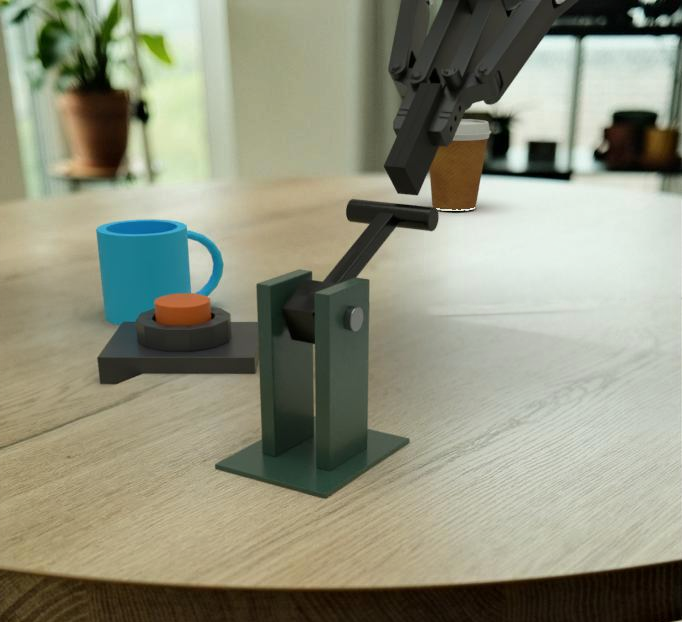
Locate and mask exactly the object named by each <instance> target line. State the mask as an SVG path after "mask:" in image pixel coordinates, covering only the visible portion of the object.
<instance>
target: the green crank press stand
mask: <svg viewBox="0 0 682 622" xmlns="http://www.w3.org/2000/svg"><path fill="white" fill-rule="evenodd" d="M305 279H309V280H313V271H312V270H308V269H307V270H306V269H300V268H299V269H296V270H292V271H289V272H287V273H284V274H281V275H278V276H276V277H273V278H269V279H267V280H263V281H260V282H257V283H256V287H255V288H256V311H257V312H256V315H257V322H258V344H259V360H258V364H259V365H258V368H259V369H258V371H259V372H258V373H259V393H260V394H259V395H260V396H259V397H260V398H259V399H260V400H259V401H260V425H261V427H260V428H261V429H260V430H261V439H259V440H257V441H256V442H254V443H252V444H250V445H248V446H247V447H244V448H243V449H241V450H239V451H237V452H235V453H233V454H231V455H229V456H227V457H226V458H224V459H222V460H220V461H218V462H217V463H215V464H214V469H215V470H217V471H220V472H221V471H222V472H225V473H229V474H233V475H236V476H240V477H243V478H247V479H250V480H251V479H252V480H254V481H258V482H262V483H265V484H268V485H269V484H270V485H272V486H276V487H280V488H284V489H287V490H290V491H291V490H292V491H295V492H299V493H302V494H306V495H309V496H313V497H317V498H320V499H328V498H329V497H331V496H333V495H334V494H335V493H337V492H338V491H340V490H341V489H343V488H344V487H346V486H347V485H349V484H351V482H354V481H355V480H356V479H358V478H359V477H361V476H362V475H363V474H365V473H366V472H368V471H370V470H371V469H373V468H375V466H377V465H379V464H380V463H382V462H384V461H385V460H387V459H388V458H390V457H391V456H392V455H394V454H396V453H397V452H399V451H401V449H403V448H405V447H406V446H408V445H409V444H410V437H405V436H401V435H396V434H391V433H388V432H383V431H379V430H375V429H370V428H368V427H369V426H368V425H369V423H368V422H369V421H368V420H369V355H370V353H369V350H370V349H369V348H370V347H369V346H370V287H371V286H370V282H371V281H370V278H369V279H368V278H362V277H355V278H353V279H350V280H347V281H345V282H342V283H339V284H337V285H334V286H331V287H329V288H326V289H323V290H321V291H318V292H315V293H314V306H315V344H312V343H306V342H301V341H296V340H292V339H291V336H290V333H289V330H288V327H287V324H286V321H285V318H284V315H283V312H282V309H281V307H282V306H283V305H284V304H285V302H286V301H287V300H288V299H289V298H290V296H291V295H292V294H293V293H294V292H295V290H296V289H297V288H298V287H299V286H300V284H301V283H302V282H303V281H304V280H305ZM314 384H315V385H314ZM314 386H315V387H314ZM314 391H315V393H314ZM314 398H315V399H314Z"/></svg>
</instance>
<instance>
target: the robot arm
mask: <svg viewBox="0 0 682 622" xmlns="http://www.w3.org/2000/svg"><path fill="white" fill-rule="evenodd" d="M435 1H436V0H400V3H399V4H400V5H399V9H398V15H397V20H396V25H395V31H394V34H393V35H394V36H393V40H392V41H393V42H392V47H391V52H390V57H389V61H388V67H387V70H388V71H387V72H388V74H389V76H390V79H391V80H392V83H393V84H394V87H395V89H396V92H397V94H398V96H399V98H400V99H401V100H402V102H401V103H400V106H399V108H398V110H397V113H396V115H395V118H394V119H393V122H392V129H393V132H394V134H395V135H396V137H395V139H394V141H393V144H392V146H391V148H390V151H389V153H388V155H387V157H386V160H385V162H384V164H383V168H384V170H385V172H386V174H387V176H388V177H389V180H390V182H391V183H392V185H393V187H394V189H395V191H396V193H397V194H398V195H408V196H419V194H420V192H421V190H422V187H423V185H424V183H425V180H426V177H427V176H428V174H429V172H430V166H431V164H432V162H433V159H434V157H435V155H436V152H437V150H438V148H439V146H441V147H447V146H448V145H449V144H450V143H451V142H452V140H453V138H454V136H455V133H456V131H457V128H458V126H459V124H460V122H461V119H463V117H464V115H465V112H466V111H468V110H469V109H470V108H471V107H473V104H475V103H480V102H483V103H484V104H485V105H488V106H491V105H495V104H497V103H498V102H499V101H500V100H501V99H502V98H503V96H504V94H505V93H506V92H507V90H508V89H509V87H510V86H511V84H512V83H513V82H514V81H515V79H516V78H517V76H518V75H519V74H520V72H521V70H522V69H523V68H524V67H525V65H526V63H527V62H528V60H529V59H530V58H531V56H532V55H533V54H534V52H535V50H536V49H537V48H538V46H539V45H540V43H541V42H542V41H543V40H544V38H545V36H547V33H548V32H549V31H550V29H551V28H552V27H553V25H554V24H555V22H556V21H557V19H559V18H560V16H562V15H563V14H564V13H565V12H567V11H568V10H569V9H570V8H571V7H573V6H574V5H575V4H576V3H578V2H579V0H442V1H441V4H440V7H439V8H438V11H437V12H436V14H435V17H434V19H433V22H432V24H431V26H430V28H429V25H430V18H431V9H430V6H432V5H434V3H435ZM428 30H429V31H428ZM444 87H445V88H444Z"/></svg>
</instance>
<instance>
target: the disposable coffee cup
mask: <svg viewBox="0 0 682 622" xmlns="http://www.w3.org/2000/svg"><path fill="white" fill-rule="evenodd" d="M491 134H492V130H490V123H489V121H487V120H484V119H483V120H482V119H473V118H462V119H461V122H460V124H459V126H458V128H457V131H456V133H455V136H454V138H453V140H452V142H451V143H450V144H449V145H448V146H447V147H441V146H439V148H438V150H437V152H436V155H435V157H434V159H433V162H432V164H431V166H430V169H429V180H430V192H431V194H430V195H431V207H432V206H433V207H435V208H440V209H452V210H456V209H458V210H461V209H470V208H474V207H477V201H478V197H479V190H480V184H481V179H482V174H483V168H484V162H485V156H486V149H487V145H488V139H489V138H490V135H491Z"/></svg>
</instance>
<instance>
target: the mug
mask: <svg viewBox="0 0 682 622" xmlns="http://www.w3.org/2000/svg"><path fill="white" fill-rule="evenodd" d="M95 233H96V242H97V253H98V262H99V272H100V281H101V291H102V298H103V310H104V318H105V320H106V321H107V322H109V323H111V324H113V325H117V326H120V325H121V324H122V322H136V319H137V317H138V316H139V314H140V313H143V312H145V311H148V310H151V309H154V308H155V304H154V301H155V300H156V299H157V298H159V297H162V296H165V295H170V294H180V293H191V294H192V286H191V270H190V269H191V267H190V255H189V254H190V253H189V240H191V241H195V242H197V243H199V244H201V245H202V246H203V247H205V248H206V250H207V251H208V253H209V254H210V256H211V260H212V271H211V274H210V277H209V279H208V281H207V282H206V283H205V284H204V285H203V286H202V288H201V289H199V290H198V291H196V292H195V293H194V294H200V295H204V296H207V297H209V296H210V295H211V294H212V293H213V291H214V290H215V289H217V287H218V285H219V284H220V282H221V279H222V277H223V273H224V272H223V271H224V260H223V256H222V252H221V251H220V249H219V248H218V246H217V245H216V243H215V242H214V241H212V240H211V239H210V238H208V237H207V236H206V235H204V234H202V233H200V232H197V231H193V230H188V225H187V224H185V223H184V222H181V221H177V220H171V219H170V220H169V219H152V218H151V219H150V218H149V219H128V220H127V219H126V220H119V221H112V222H108V223H103V224H101V225H99V226H96V229H95Z"/></svg>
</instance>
